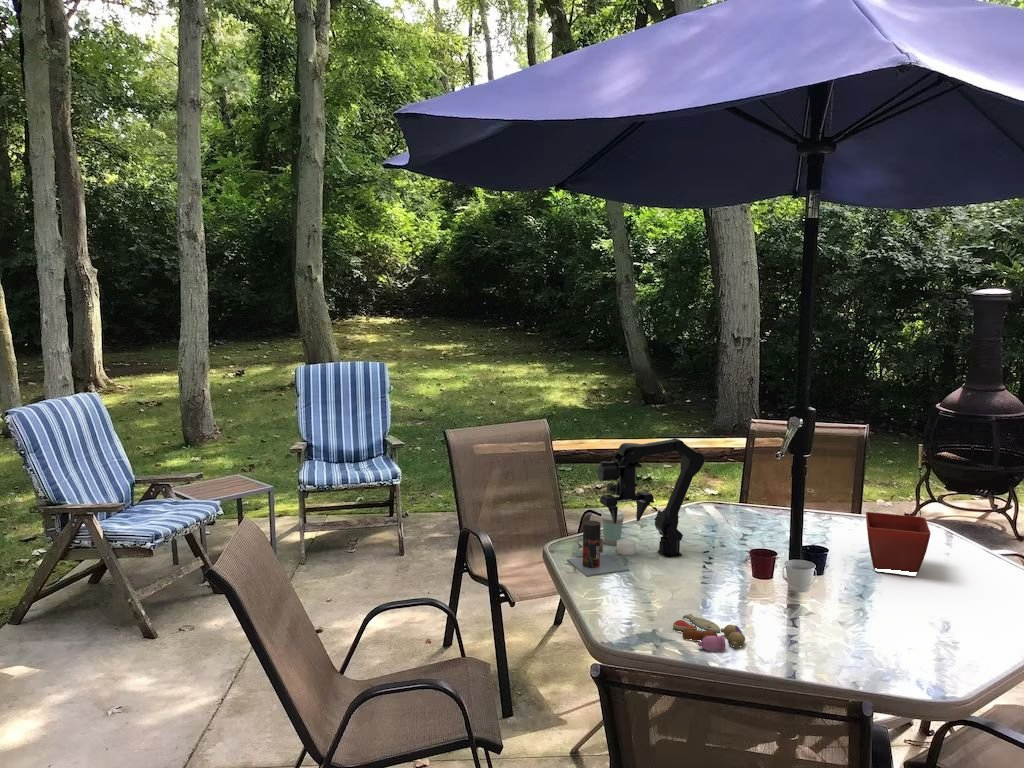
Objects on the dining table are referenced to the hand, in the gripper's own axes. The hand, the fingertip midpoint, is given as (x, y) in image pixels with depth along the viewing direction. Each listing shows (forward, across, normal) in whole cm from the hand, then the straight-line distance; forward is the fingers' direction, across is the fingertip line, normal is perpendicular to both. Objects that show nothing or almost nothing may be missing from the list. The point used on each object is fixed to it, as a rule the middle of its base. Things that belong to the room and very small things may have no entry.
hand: (626, 522), depth 287 cm
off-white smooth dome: (+13, -3, -5) cm, 14 cm away
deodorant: (+13, +16, +4) cm, 20 cm away
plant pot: (+13, -82, +41) cm, 93 cm away
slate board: (+13, +13, +4) cm, 19 cm away
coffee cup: (+13, -3, -16) cm, 21 cm away
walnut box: (+13, +8, -10) cm, 18 cm away
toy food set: (+14, +9, +65) cm, 67 cm away
